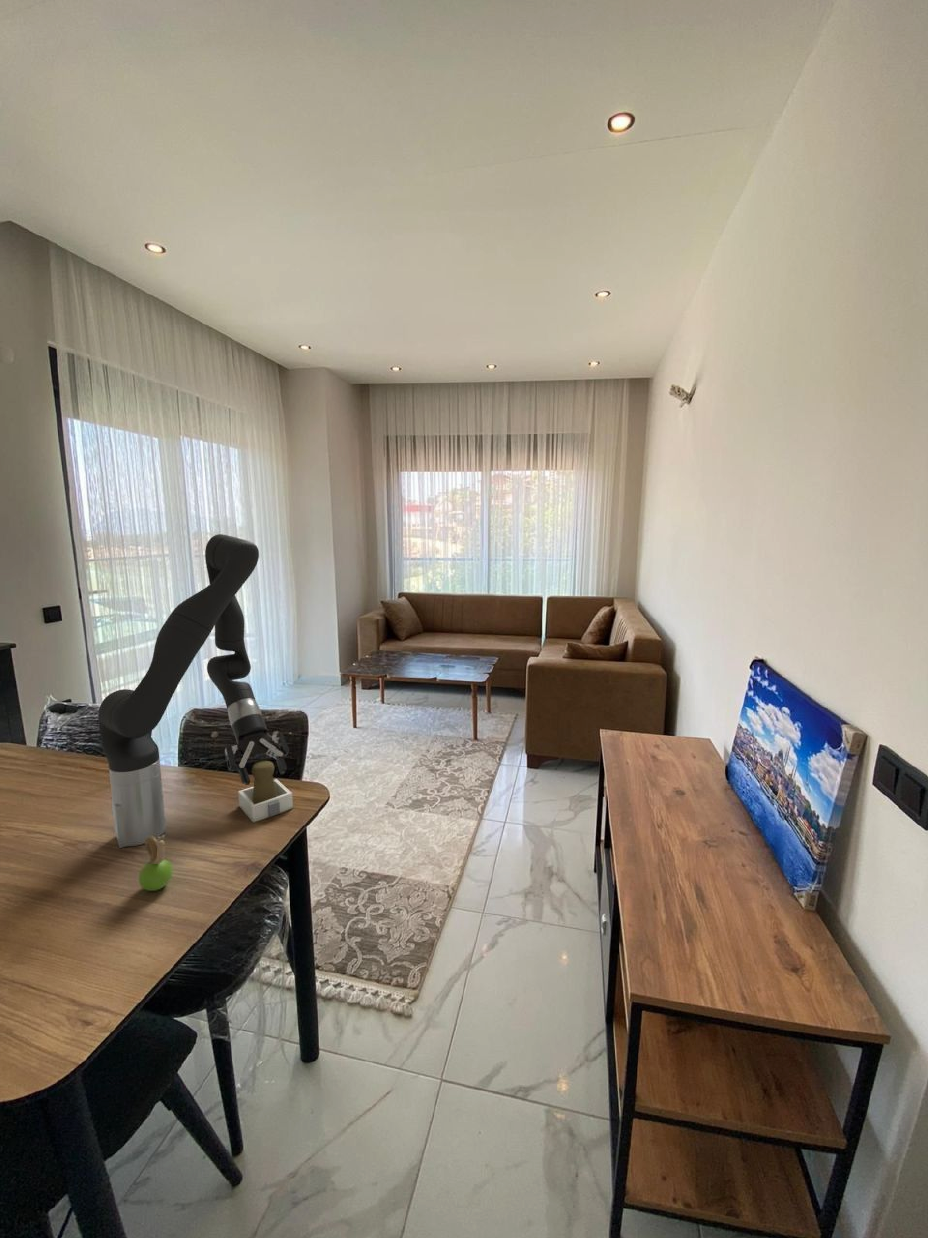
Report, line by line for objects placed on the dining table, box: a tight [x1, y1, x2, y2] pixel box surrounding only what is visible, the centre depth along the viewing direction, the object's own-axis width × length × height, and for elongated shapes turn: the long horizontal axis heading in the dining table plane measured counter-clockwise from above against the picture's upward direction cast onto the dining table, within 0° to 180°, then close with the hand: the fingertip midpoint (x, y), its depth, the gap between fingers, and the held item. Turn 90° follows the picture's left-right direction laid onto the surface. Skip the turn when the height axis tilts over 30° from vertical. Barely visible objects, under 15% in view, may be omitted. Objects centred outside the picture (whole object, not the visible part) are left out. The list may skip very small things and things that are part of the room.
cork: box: [251, 760, 277, 805], centre depth 121 cm, size 6×6×11 cm
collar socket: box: [237, 778, 294, 823], centre depth 121 cm, size 10×11×4 cm
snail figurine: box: [138, 834, 173, 892], centre depth 92 cm, size 5×6×12 cm
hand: (266, 778), depth 119 cm, fingers open, 8 cm apart
